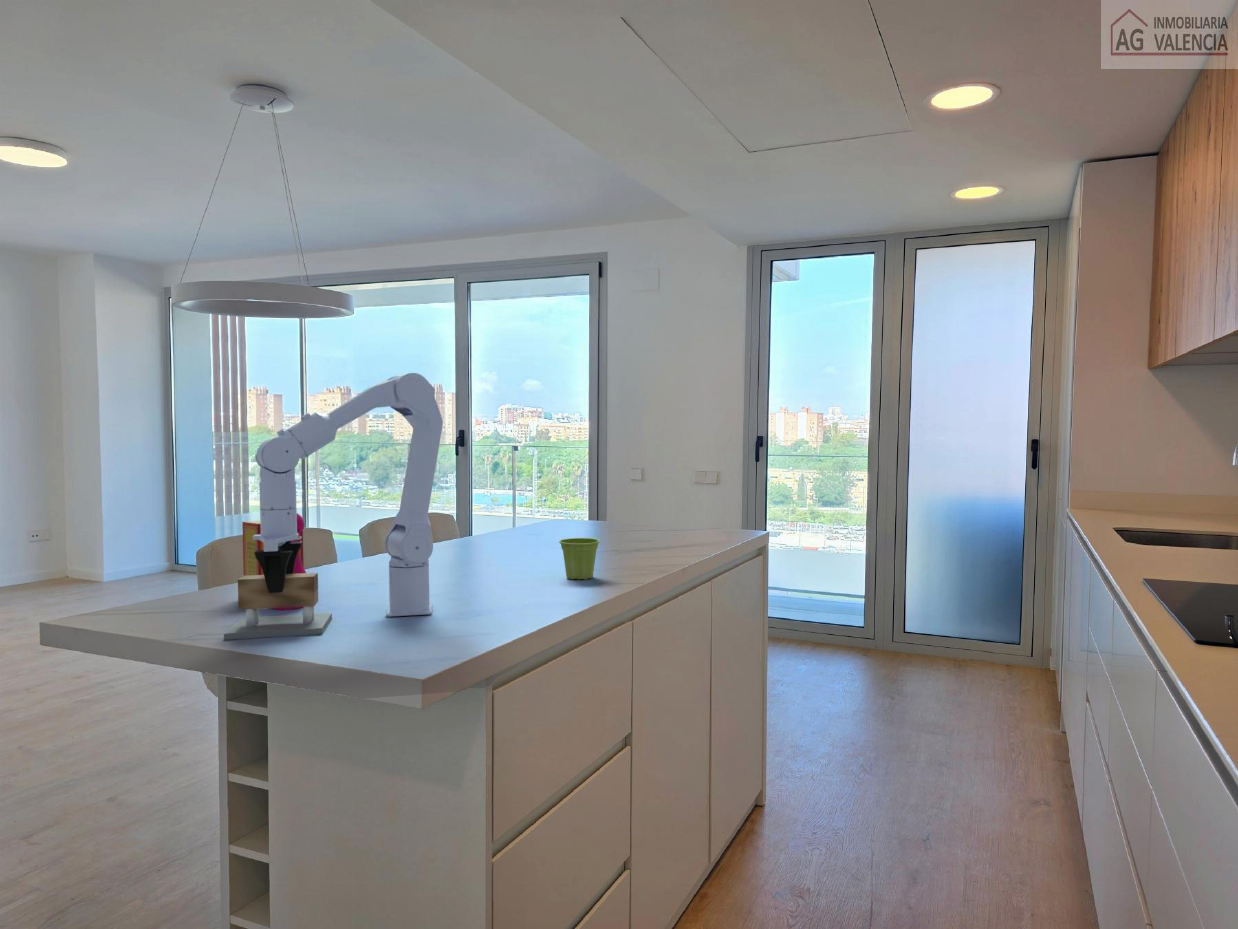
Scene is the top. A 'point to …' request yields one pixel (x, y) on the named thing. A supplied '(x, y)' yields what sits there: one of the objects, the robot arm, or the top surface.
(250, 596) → the walnut plank
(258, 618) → the peg stand
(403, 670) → the top surface
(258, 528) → the food box
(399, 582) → the robot arm
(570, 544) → the plant pot
